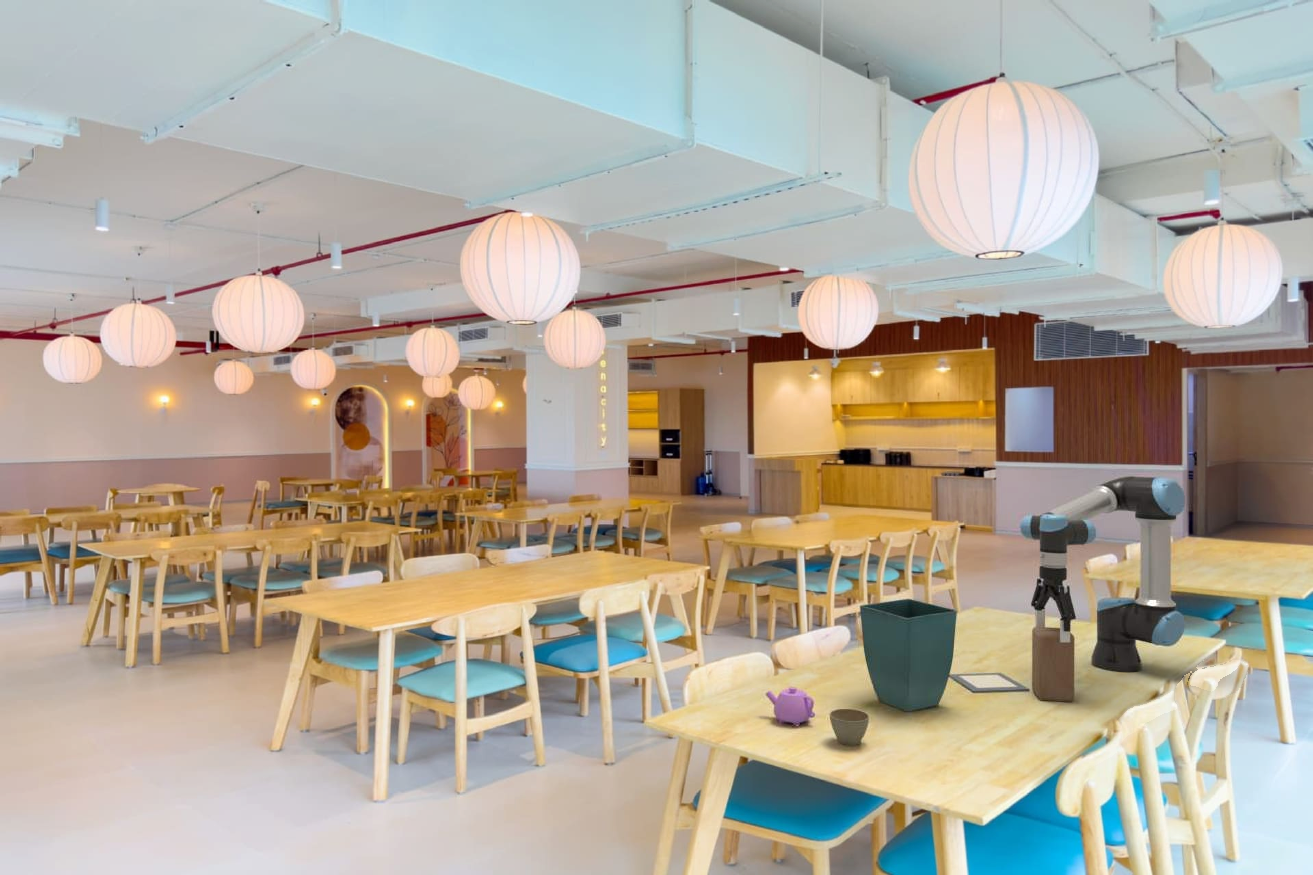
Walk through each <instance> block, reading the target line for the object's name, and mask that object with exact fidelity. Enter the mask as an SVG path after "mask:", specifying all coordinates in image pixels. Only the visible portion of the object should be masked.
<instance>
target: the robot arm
mask: <svg viewBox="0 0 1313 875" xmlns="http://www.w3.org/2000/svg"><path fill="white" fill-rule="evenodd" d="M1185 496H1186V495H1185V492H1184V490H1183V488H1182V486H1181V485H1180V484H1179V482H1177V481H1176V480H1175V479H1172V478H1166V477H1157V476H1156V477H1155V476H1153V477H1151V476H1134V475H1133V476H1130V475H1129V476H1123V477H1118V478H1114V479H1111V480H1108V481H1105V482H1103V483H1101V484H1098V485H1097V486H1095V487H1093V488H1092V489H1091V491H1090V492H1089V493H1086V494H1084V495H1082V496H1080V497H1077V498H1075V499H1073V500H1071V501H1069V502H1066V503H1065V504H1063V505H1060V506H1058V507H1056V508H1054V509H1051V510H1050V511H1047V512H1045V513H1042V514H1040V515H1034V514H1033V515H1032V514H1031V515H1026V516H1024V517H1022V519H1021V521H1020V524H1019V525H1020V526H1019V528H1020V533H1021V534H1022V536H1023V537H1024V538H1026V539H1030V540H1035V541H1039V555H1038V558H1039V565H1040V566H1039V570H1038V571H1039V572H1038V573H1039V578H1037V580H1036V587H1035V590H1034V593H1033V595H1032V599H1031V603H1030V606H1031V607H1033V609H1034V610H1035V615H1034V616H1035V627H1046V608H1045V606H1046V605H1047V603H1048V602H1049V600H1050V598H1051V599H1052V600H1053V601H1054V602H1055V604H1056V606H1057V610H1058V611H1059V614H1060V617H1061V618H1060V619H1059V628H1060V642H1070V633H1071V629H1072V628H1071V623H1072V621H1073V620H1076V619H1077V618H1076V614H1075V608H1074V605H1073V604H1074V603H1073V601H1072V600H1073V599H1072V597H1071V591H1070V590H1071V588H1070V585H1064V584H1063V581H1066V580H1067V578H1068V577H1067V576H1068V574H1067V573H1068V570H1067V569H1068V568H1066V567H1067V566H1068V546H1083V545H1084V546H1085V545H1088V544H1091V543H1093V542H1094V541H1095V540H1096V536H1097V528H1096V526H1095V524H1094V523H1093V522H1092V521H1090V519H1092V518H1094V517H1096V516H1099V515H1101V514H1110V513H1111V514H1112V513H1113V512H1117V511H1121V512H1122V511H1125V512H1126V511H1127V512H1134V513H1135V514H1134V517H1135V520H1137V522H1139V526H1140V541H1139V542H1140V543H1139V544H1140V546H1139V547H1140V549H1139V550H1140V556H1139V557H1140V565H1139V566H1140V571H1139V572H1140V575H1139V577H1140V578H1139V579H1140V581H1139V582H1140V596H1139V597H1138V598H1133V597H1104V598H1101V599H1099V600H1098V601H1097V606H1096V643H1095V645H1094V649H1093V652H1092V654H1091V656H1090V657H1091V658H1090V659H1091V662H1090V664H1091V665H1093V666H1094V667H1095V668H1096V667H1097V668H1100V669H1103V670H1108V671H1113V672H1123V673H1124V672H1126V673H1127V672H1129V673H1130V672H1138V671H1141V670H1142V669H1143V667H1142V664H1143V663H1142V660H1141V656H1140V654H1139V651H1138V648H1137V643H1136V642H1137V641H1140V642H1142V643H1143V642H1144V643H1147V644H1153V645H1155V646H1162V647H1171V646H1174V645H1176V644H1177V643H1179V641H1180V639H1182V636H1183V635H1184V632H1185V627H1186V620H1185V618H1184V615H1183V614H1182V613H1181V612H1179V611H1178V610H1177V604H1176V602H1175V601H1173V599H1172V592H1171V591H1172V589H1171V588H1172V582H1171V581H1172V577H1171V576H1172V572H1171V571H1172V568H1171V567H1172V563H1171V562H1172V561H1171V560H1172V557H1171V556H1172V551H1171V550H1172V547H1171V546H1172V545H1171V544H1172V540H1171V539H1172V535H1171V534H1172V527H1171V525H1172V524H1173V523H1175V522H1176V521H1177V516H1178V515H1180V514H1181V513H1183V511H1184V508H1185V504H1186V497H1185Z"/></svg>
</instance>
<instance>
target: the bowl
mask: <svg viewBox="0 0 1313 875" xmlns="http://www.w3.org/2000/svg"><path fill="white" fill-rule="evenodd" d="M829 720H830V724H831V728H832V730H833V732H834V735H835V737H836V738H837V740H838V742H839V743H840V744H841V745H844V746H858V745H859V744H860V743H861V741H862V740H863V738H864V736H865V735H866V732H867V730H868V727H869V720H870V715H869V713H867V712H866V711H863V710H860V709H855V708H836V709H833V710H831V711H830V712H829Z"/></svg>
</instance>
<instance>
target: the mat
mask: <svg viewBox="0 0 1313 875" xmlns="http://www.w3.org/2000/svg"><path fill="white" fill-rule="evenodd" d="M949 678H950V679H951V680H953V681H955V682H956V683H958V684H960V685H961V686H962V687H964V688H965V689H967V690H968V691H970V692H971V693H973V694H976V693H977V694H979V693H1006V692H1007V693H1009V692H1010V693H1012V692H1030V691H1031V689H1030V688H1028V687H1027V686H1025V685H1023V684H1021V683H1019V682H1018V681H1016V680H1014V679H1013V678H1011V677H1009V676H1008V675H1005V674H1004V673H1002V672H992V673H991V672H985V673H984V672H982V673H953V674H951V673H950V674H949Z"/></svg>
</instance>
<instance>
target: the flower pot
mask: <svg viewBox="0 0 1313 875" xmlns="http://www.w3.org/2000/svg"><path fill="white" fill-rule="evenodd" d="M859 611H860V620H861V621H860V622H861V633H862V634H861V635H862V644H863V653H864V659H865V663H866V667H867V671H868V675H869V678H870V680H871V684H872V687H873V690H874V692H875V696H876V697H877V700H878V701H879V702H882V703H885V704H887V705H890V706H892V707H895V708H897V709H899V710H902V711H905V712H912V711H918V710H922V709H927V708H932V707H936V706H939V705H940V703H941V700H942V698H943V696H944V694H945V690H946V687H947V684H948V681H949V678H950V677H949V674H951V668H952V664H953V661H954V660H953V659H954V653H955V652H954V648H955V637H956V624H957V615H958V614H957V613H958V612H957V610H955V609H953V608H952V609H951V608H947V607H945V606H941V605H937V604H932V603H927V602H923V601H920V600H915V599H911V598H905V599H904V598H903V599H897V600H889V601H883V602H876V603H875V602H874V603H869V604H868V603H867V604H863V605H862V604H861V605H859Z"/></svg>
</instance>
